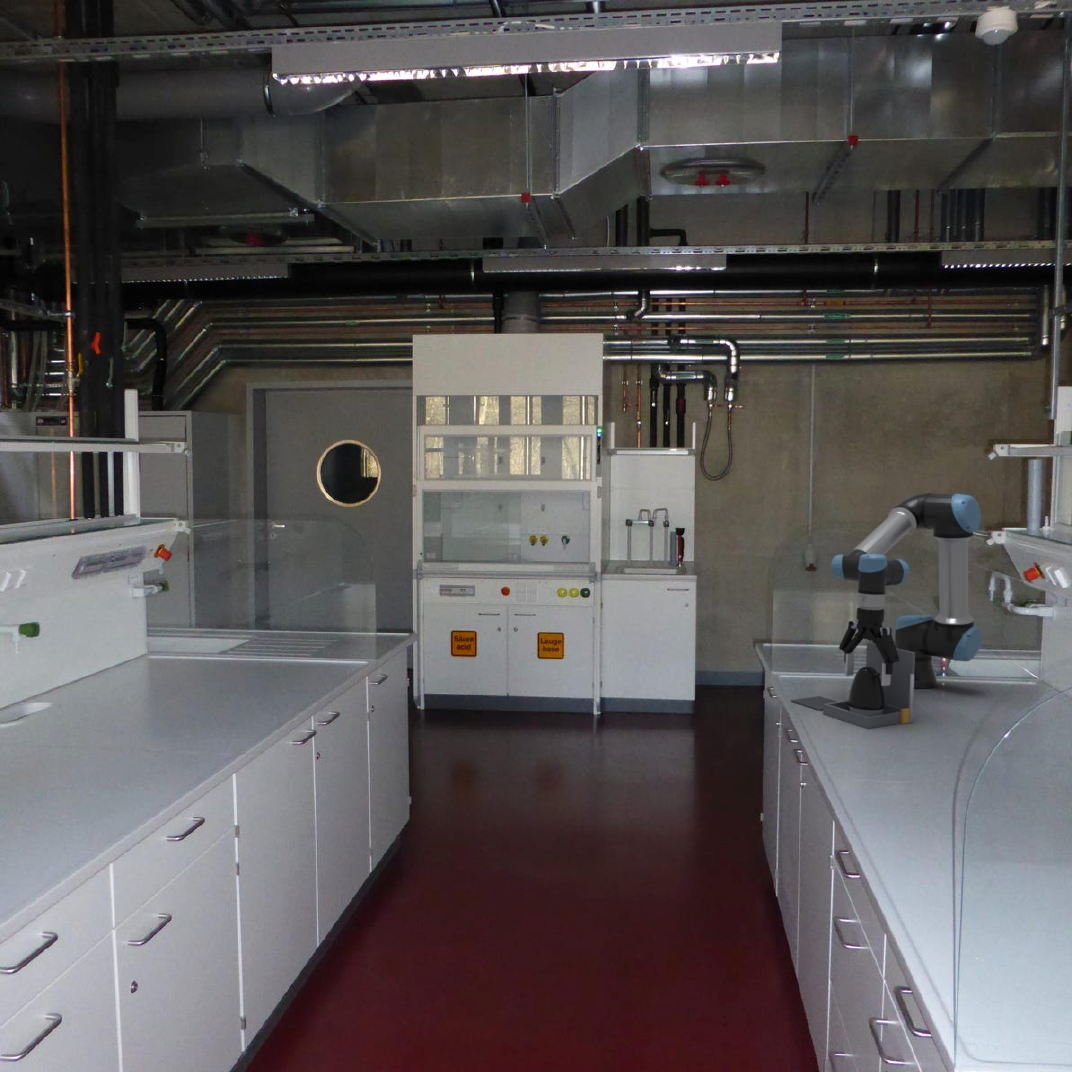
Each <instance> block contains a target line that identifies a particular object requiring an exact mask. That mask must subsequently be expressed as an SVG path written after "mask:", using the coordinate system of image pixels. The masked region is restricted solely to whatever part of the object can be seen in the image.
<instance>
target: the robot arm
mask: <svg viewBox="0 0 1072 1072" xmlns="http://www.w3.org/2000/svg"><path fill="white" fill-rule="evenodd" d="M981 523H982V512H981V508H980V506H979V503H978V501H977V500H976V498H974V496H972V495H969V494H962V493H961V494H960V493H946V492H945V493H944V492H943V493H936V492H934V493H933V492H924V493H919V494H915V495H913V496H911V497H908V498H907V499H905V500H902V501H900V503H898V504H897V505H895V506H894V507H893V508H892V509H890V511H889V513H888V515H887V518H886V519H885V520H883V522H882V523H881V524H880V525H878V526H877V527H876V528H875V529H874V530H873V531H872V532H871V533H870V534H868V535H867V536H866V537H865V539H863V540H861V542H860V543H859V544H858V545H857V546H855V548H854V549H852V550H851V551H850V552H849V553H848V554H837V555H835V556H834V557H833V558H832V560H831V563H830V571H831V574H832V576H833V577H834V578H836V579H838V580H839V579H840V580H844V581H852V582H858V583H857V585H858V586H857V597H856V598H857V601H856V604H857V606H858V607H857V608H856V617H855V618H856V620H850V621H848V626H847V629H846V632H845V634H844V636H843V638H842V640H841V642H840V643H839V646H838V649H839V650H840V651H842V652H843V653H844V655H843V656H844V657H843V663H844V664H845V666H844V667H845V668H844V676H846V677H848V676H849V677H850V676H854V672H855V671H854V670H855V653H854V650H855V649H856V648H857V647H858V645H860V644H861V642H862V641H863V640H867V641H870V642H872V643H875V644H876V646H877V648H878V650H879V652H880V654H881V656H882V657H883V659H884V661H885V662H883V663H882V680H881V685H882V686H887V685H890V676H891V674H892V672H893V663H894V662H899V656H898V653H897V650H896V648H897V649H901V650H906V651H910V652H914V653H915V667H914V689H933V688H935V687H936V686H937V677H936V675H935V670H934V666H933V663H932V660H933V659H932V658H933V657H936V658H942V659H947V660H953V661H954V662H958V661H959V662H970V661H972V660H973V659H974V658H975V657H976V655H977V654H978V652H979V650H980V647H981V645H982V638H983V637H982V636H983V635H982V631H981V628H979V627H978V626H976V625H975V623H974V622H975V620H974V617H972V616H971V615H970V614H969V542H970V540H971V539H972V538H973V537H974V532H977V531H978V530H979V528H980V526H981ZM919 529H921V530H922V529H926V530H932V531H933V533H932V534H933V535H932V536H933V538H934V539H935V540H937V541H938V580H939V581H938V586H939V587H938V589H939V590H938V591H939V593H938V594H939V604H938V605H939V613H938V614H937V615H936V616H934V615H931V614H909V615H902V616H898V618H897V620H896V623H895V629H894V630H895V631H894V632H895V634H894V638H893V635H892V631H893V629H892V628H891V627H884V626H883V622H884V620H885V610H884V608H885V606H886V587H887V586H898V585H901V584H903V583H905V582H907V580H908V579H909V578H910V574H911V572H910V571H911V570H910V566H909V564H908V563H907V562H906V561H904V560H903V559H899V558H898V559H897V558H892V559H891V558H889V559H887V556H886V553H888V551H890V550H891V549H892V548H893V547H894V546H895V545H896V544H897V543H898V542H900V540H901V539H902V538H904V537H905V535H910V534H912V533H914V531H916V530H919ZM856 631H857V632H856ZM894 639H895V640H894Z"/></svg>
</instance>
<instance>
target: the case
mask: <svg viewBox="0 0 1072 1072" xmlns="http://www.w3.org/2000/svg"><path fill="white" fill-rule="evenodd" d="M896 650H897V653H898V656H899V662H894V663H893V672H892V674H891V676H890V685H887V686H882V687H883V691H884V698H885V708H884V709H883V712H882V714H881V715H877V716H871V717H866V716H863V715H860V714H857V713H854V712H851V711H850V708H849V705H848V699H846V700H842V701H840V700H839V701H837V702H833V703H827V704H823V710H822V715H825V716H828V717H831V718H833V719H837V720H840V721H843V722H846V723H848V724H852V725H855V726H857V727H862V728H864V729H869V730H870V729H875V728H880V727H885V726H886V727H887V726H891V725H898V724H903V725H904V724H912V723H913V711H914V709H913V708H914V707H913V706H914V691H915V688H914V667H915V653H914V652H910V651H906V650H901V649H897V648H896ZM865 656H866V657H865V658H866V661H865V666H870V667H872V668H874V669H875V670H876V671H877V673H880V676H879V677H880V680H882V663H883V662H885V661H884V659H883V657H882V656H881V654H880V652H879V650H878V648H877V646H876V644H875V643H873V642H872V641H870V642H869V641H867V642H866V655H865Z"/></svg>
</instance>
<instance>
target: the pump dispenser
mask: <svg viewBox="0 0 1072 1072" xmlns="http://www.w3.org/2000/svg"><path fill="white" fill-rule="evenodd" d="M879 676H880V673H877V671H876V670H875V669H874V668H872V667H870V666H866V665H865V666H862V667H861V668H859V670H857V672H856V673H855V676H854V677H853V679H852V682H851V686H850V689H849V693H848V699H847V700H848V705H849V708H850V711H851V712H854V713H857V714H860V715H863V716H866V717H871V716H877V715H883V714H882V712H883V709H884V708H885V698H884V691H883V687H882V685H881V680H880V677H879Z"/></svg>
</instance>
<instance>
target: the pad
mask: <svg viewBox="0 0 1072 1072" xmlns="http://www.w3.org/2000/svg"><path fill="white" fill-rule="evenodd" d="M790 702H791V703H794V704H797V705H800V706H802V707H806V708H809V709H812V710H816V711H818V712H821V711H822V712H823V704H827V703H833V702H838V701H837V700H834V699H831V698H827V697H824V696H821V695H817V696H811V697H804V698H798V699H797V698H796V699H790Z"/></svg>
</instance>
